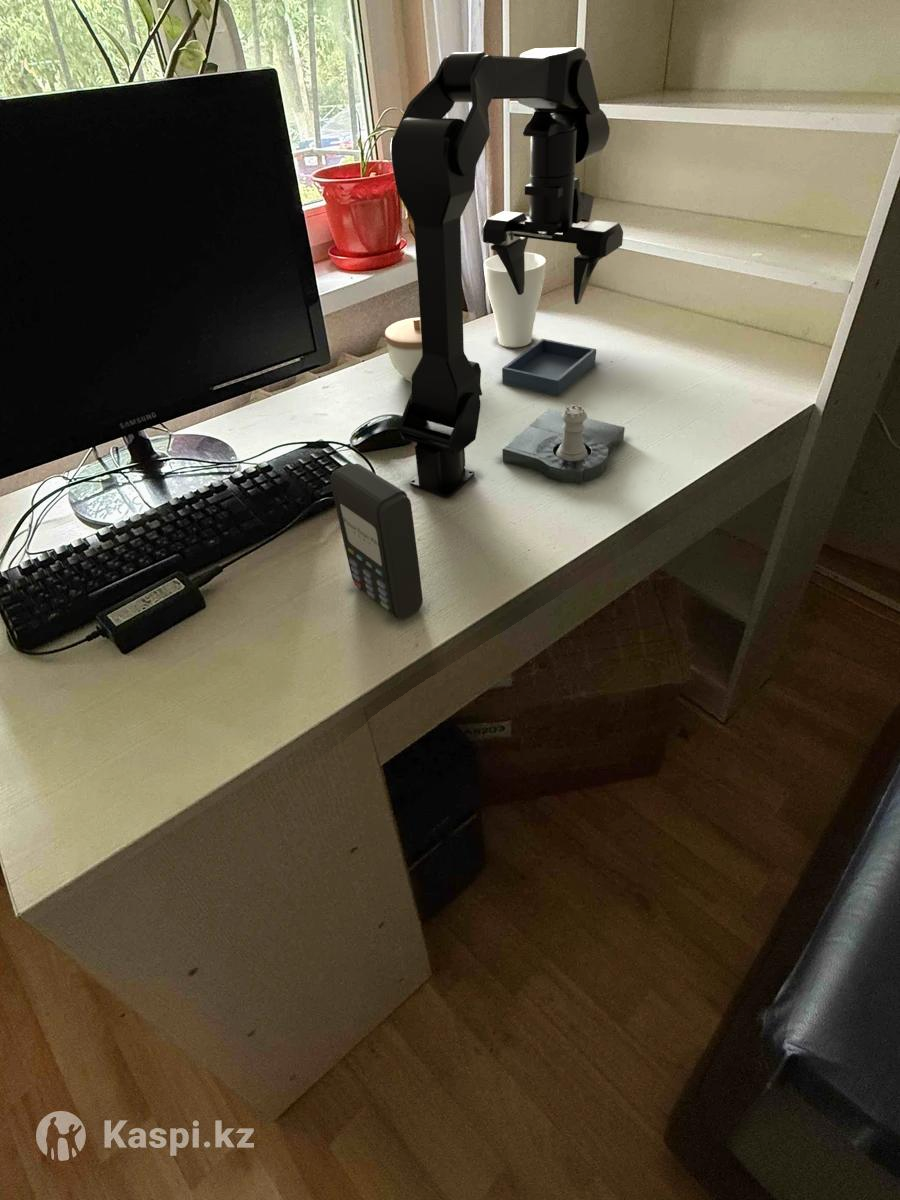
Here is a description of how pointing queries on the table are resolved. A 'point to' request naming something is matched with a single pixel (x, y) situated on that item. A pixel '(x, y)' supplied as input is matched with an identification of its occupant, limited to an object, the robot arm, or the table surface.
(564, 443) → the rook chess piece
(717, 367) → the table surface
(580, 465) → the drain plate
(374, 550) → the card reader
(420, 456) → the robot arm
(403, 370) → the trinket box
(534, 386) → the tray
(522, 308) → the cup
